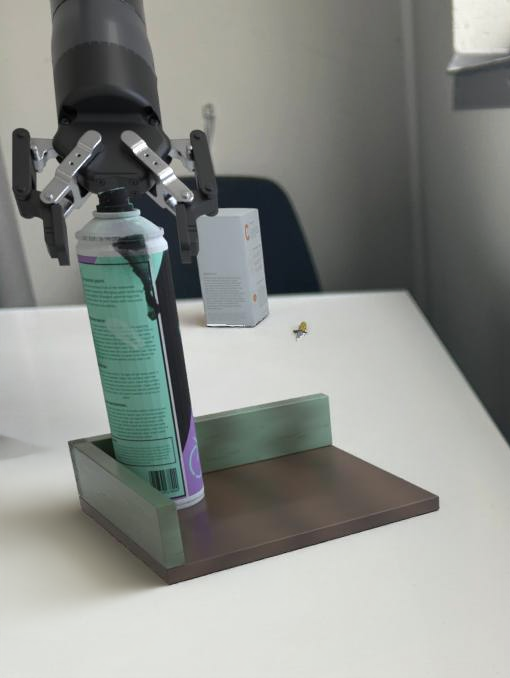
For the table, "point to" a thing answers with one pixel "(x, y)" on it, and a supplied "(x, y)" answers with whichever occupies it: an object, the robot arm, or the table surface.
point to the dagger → (300, 329)
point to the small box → (232, 267)
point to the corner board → (245, 491)
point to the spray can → (139, 347)
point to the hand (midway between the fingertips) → (125, 257)
